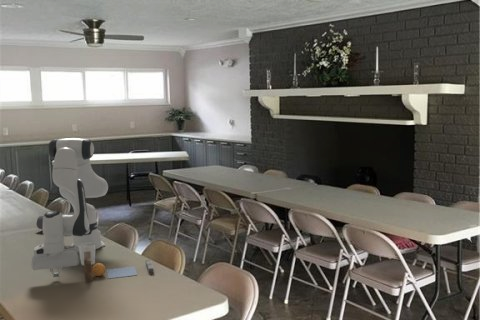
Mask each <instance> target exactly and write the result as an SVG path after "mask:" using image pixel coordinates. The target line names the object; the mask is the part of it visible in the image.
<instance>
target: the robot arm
mask: <svg viewBox="0 0 480 320" xmlns="http://www.w3.org/2000/svg"><path fill="white" fill-rule="evenodd" d="M47 151H48V156H49V157H50V158H51V159H53V163H52V164H53V165H52V182H53V183H54V185H56V187H57V188H58V190H59V194H60V195H61V197H63V199H65V200H66V201H68V203H69V204H70V205H71V206H72V209H73V213H74V214H62V212H61V211H59V210H50V211H46V212H45V213H44V214H43V215H42V216H43V229H42V234H43V243H42V244H39V245H36V246H35V247H33V248H34V249H33V255H32V257H31V269H32V270H33V271H39V270H47V269H48V270H49V272H51V274H52V278H59V277H61V272H62V269H63V268H66V267H74V266H76V267H77V266H78V265H79V263H80V260H79V259H80V258H79V254H80V253H79V244H81V243H86V242H93V243H95V250H97V249H99V248H103V247H105V246H106V245H105V243H104V241H102V233H101V231H100V230H99V227H98V221H97V211H96V208H95V206H94V205H92V204H90V203H89V202H88V203H87V199H89V198H90V199H93V198H96V199H97V198H101V197H103V196H106V194H107V193H108V190H109V184H108V182H107V180H105V178H103V177H101V176H99V175H98V174H97V173H95V171H94V170H93V168H92V164H91V158H92V157H93V156H94V152H95V146H94V142H93V141H92V140H91V139H90V138H79V137H78V138H77V137H70V138H69V137H68V138H67V137H65V138H53V139H51V141H49V143H48V147H47ZM64 236H71V237H72V244H71V245H65V243H66V242H65V237H64ZM57 268H58V271H57V272H55V271H54V269H57Z"/></svg>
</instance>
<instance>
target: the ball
mask: <svg viewBox="0 0 480 320" xmlns="http://www.w3.org/2000/svg"><path fill="white" fill-rule="evenodd" d="M91 267H92V275H94V276H96V277H101V276H103V275H104V274H105V272H106V267H105V265H104V264H103V263H101V262H95V264H93V265H92V266H91Z"/></svg>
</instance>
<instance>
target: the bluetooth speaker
mask: <svg viewBox="0 0 480 320" xmlns="http://www.w3.org/2000/svg"><path fill="white" fill-rule="evenodd" d="M43 216H44V215H40V216H38V217H37V219H36V228H38V229H40V230H43Z"/></svg>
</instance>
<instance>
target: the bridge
mask: <svg viewBox="0 0 480 320" xmlns="http://www.w3.org/2000/svg"><path fill="white" fill-rule="evenodd" d="M92 267H93V266H92V265H91V251H89V252H84V267H83V268H84V279H85V280H84V282H85V283H91V282H90V281H92V282H93V273H92Z"/></svg>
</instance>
